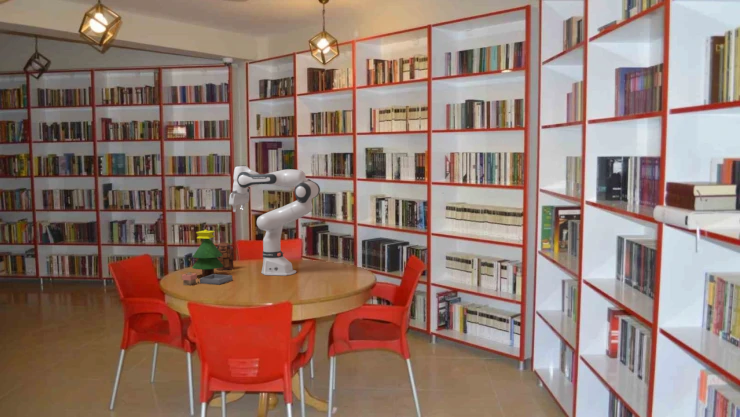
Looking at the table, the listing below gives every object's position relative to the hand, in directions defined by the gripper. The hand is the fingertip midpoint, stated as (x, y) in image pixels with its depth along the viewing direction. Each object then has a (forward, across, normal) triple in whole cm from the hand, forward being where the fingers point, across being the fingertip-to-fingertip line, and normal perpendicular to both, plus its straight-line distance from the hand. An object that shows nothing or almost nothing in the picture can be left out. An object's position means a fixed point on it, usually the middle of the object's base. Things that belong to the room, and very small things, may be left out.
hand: (238, 210), depth 395 cm
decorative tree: (+40, -22, +6) cm, 47 cm away
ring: (+37, -46, +4) cm, 59 cm away
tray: (+38, -36, -8) cm, 53 cm away
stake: (+40, -46, +4) cm, 61 cm away
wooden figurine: (+41, +1, +8) cm, 42 cm away
